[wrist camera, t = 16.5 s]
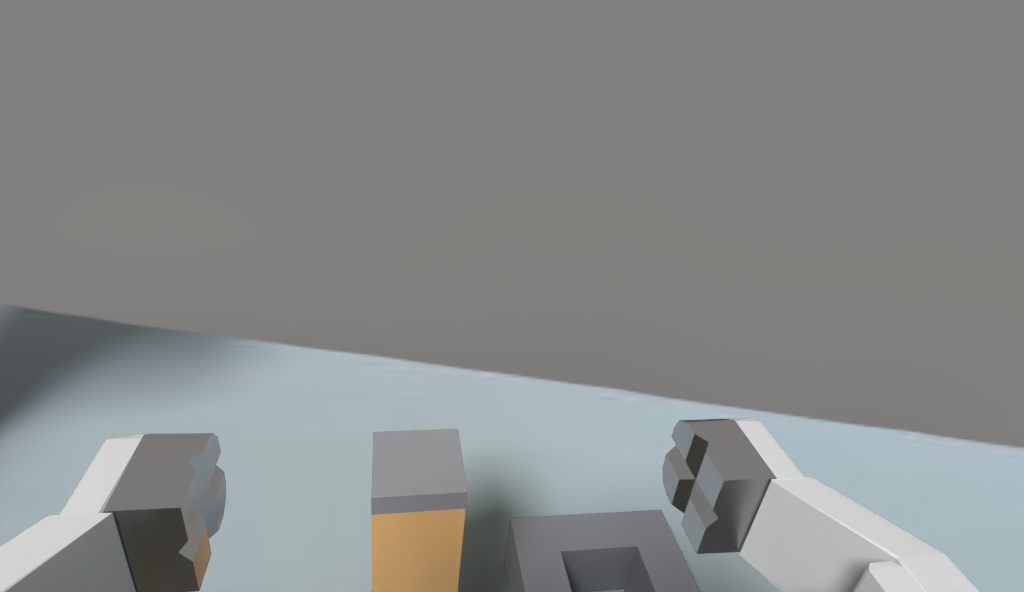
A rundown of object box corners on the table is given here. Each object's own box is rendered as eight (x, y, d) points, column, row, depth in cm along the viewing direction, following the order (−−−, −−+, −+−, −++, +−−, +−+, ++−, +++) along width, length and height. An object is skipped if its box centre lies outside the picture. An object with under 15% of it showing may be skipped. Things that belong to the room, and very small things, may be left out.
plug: (372, 688, 31) (371, 497, 25) (374, 616, 35) (373, 432, 28) (449, 678, 32) (467, 492, 26) (443, 609, 36) (458, 428, 29)
